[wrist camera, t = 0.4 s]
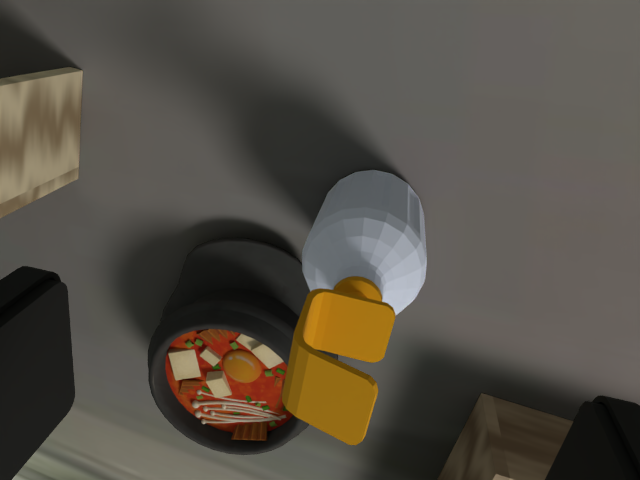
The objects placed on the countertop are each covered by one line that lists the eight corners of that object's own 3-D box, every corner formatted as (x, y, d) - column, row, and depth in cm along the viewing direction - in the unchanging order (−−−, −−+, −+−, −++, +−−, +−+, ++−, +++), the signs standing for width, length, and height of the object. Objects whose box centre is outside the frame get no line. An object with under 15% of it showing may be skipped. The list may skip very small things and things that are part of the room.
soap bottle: (409, 272, 48) (408, 500, 25) (314, 249, 48) (231, 453, 26) (436, 181, 44) (461, 358, 22) (331, 158, 44) (252, 307, 22)
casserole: (332, 443, 58) (320, 508, 50) (174, 416, 60) (140, 475, 53) (350, 241, 47) (338, 286, 40) (158, 219, 50) (113, 256, 42)
